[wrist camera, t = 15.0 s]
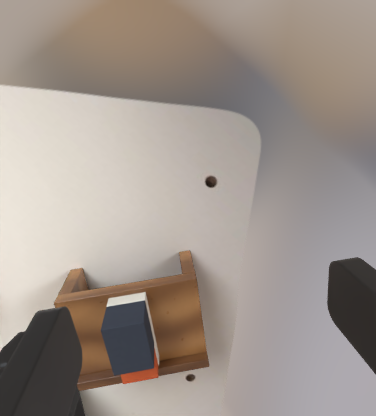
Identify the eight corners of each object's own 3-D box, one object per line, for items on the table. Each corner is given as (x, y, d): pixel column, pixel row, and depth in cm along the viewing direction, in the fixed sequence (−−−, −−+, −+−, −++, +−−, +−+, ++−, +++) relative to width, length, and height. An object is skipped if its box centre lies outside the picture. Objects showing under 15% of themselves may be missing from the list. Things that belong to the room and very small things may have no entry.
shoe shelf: (70, 269, 39) (49, 310, 31) (189, 250, 40) (198, 285, 32) (92, 339, 43) (78, 391, 35) (199, 320, 44) (209, 366, 36)
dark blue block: (108, 297, 33) (100, 330, 28) (145, 291, 33) (143, 322, 28) (125, 361, 36) (120, 400, 31) (159, 355, 36) (159, 392, 32)
